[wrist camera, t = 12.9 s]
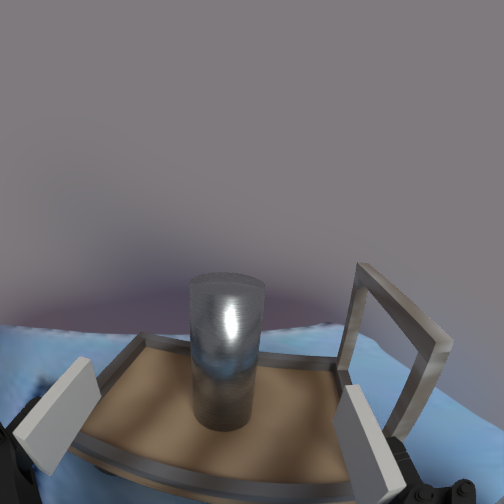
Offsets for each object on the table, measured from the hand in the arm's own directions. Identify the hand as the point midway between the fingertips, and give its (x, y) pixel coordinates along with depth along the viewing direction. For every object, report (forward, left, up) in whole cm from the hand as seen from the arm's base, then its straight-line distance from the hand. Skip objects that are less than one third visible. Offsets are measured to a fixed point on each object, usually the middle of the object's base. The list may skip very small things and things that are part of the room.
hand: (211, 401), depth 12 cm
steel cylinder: (-1, +7, -8) cm, 11 cm away
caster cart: (-1, +7, -14) cm, 16 cm away
